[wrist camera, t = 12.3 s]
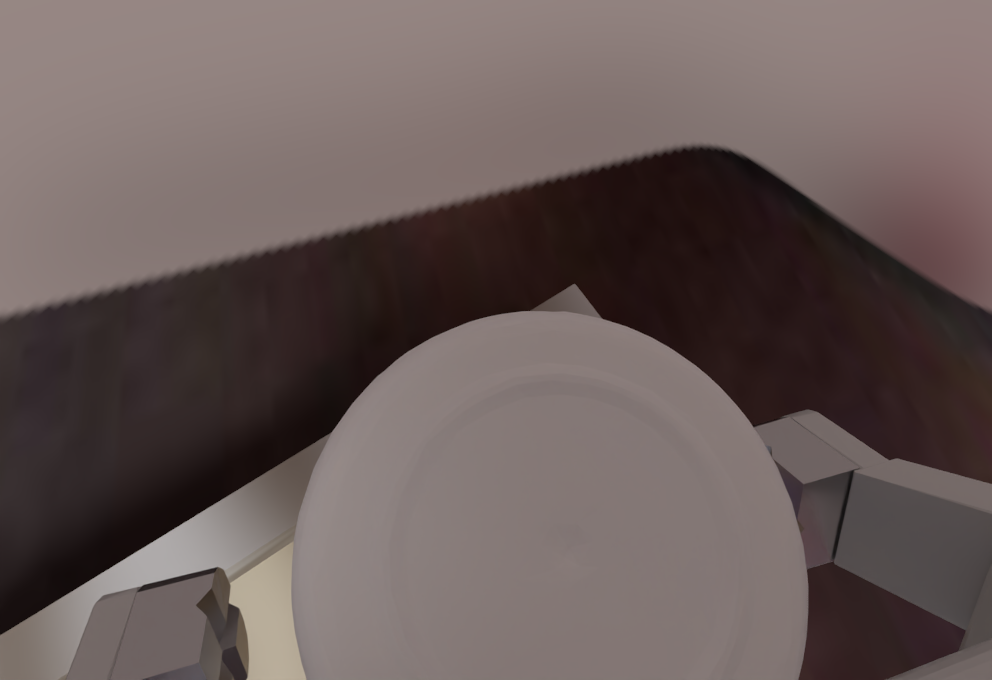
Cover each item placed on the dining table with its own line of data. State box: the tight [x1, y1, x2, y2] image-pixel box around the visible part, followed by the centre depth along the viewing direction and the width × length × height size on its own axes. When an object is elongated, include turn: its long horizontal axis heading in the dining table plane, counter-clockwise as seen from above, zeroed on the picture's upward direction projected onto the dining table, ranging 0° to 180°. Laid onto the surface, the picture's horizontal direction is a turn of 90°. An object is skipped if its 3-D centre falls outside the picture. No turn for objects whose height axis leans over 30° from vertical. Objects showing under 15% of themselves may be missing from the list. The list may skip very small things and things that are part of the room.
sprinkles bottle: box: [291, 311, 808, 680], centre depth 11 cm, size 5×5×14 cm
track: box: [0, 284, 602, 680], centre depth 16 cm, size 20×10×4 cm, turn 125°
